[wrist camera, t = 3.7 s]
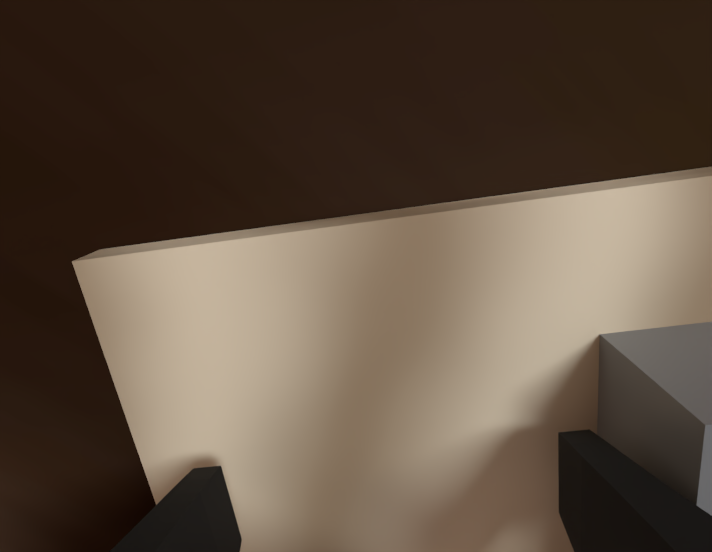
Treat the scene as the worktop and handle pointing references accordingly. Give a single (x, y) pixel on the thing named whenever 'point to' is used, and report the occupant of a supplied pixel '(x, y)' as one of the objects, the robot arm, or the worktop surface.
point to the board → (395, 357)
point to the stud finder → (661, 404)
